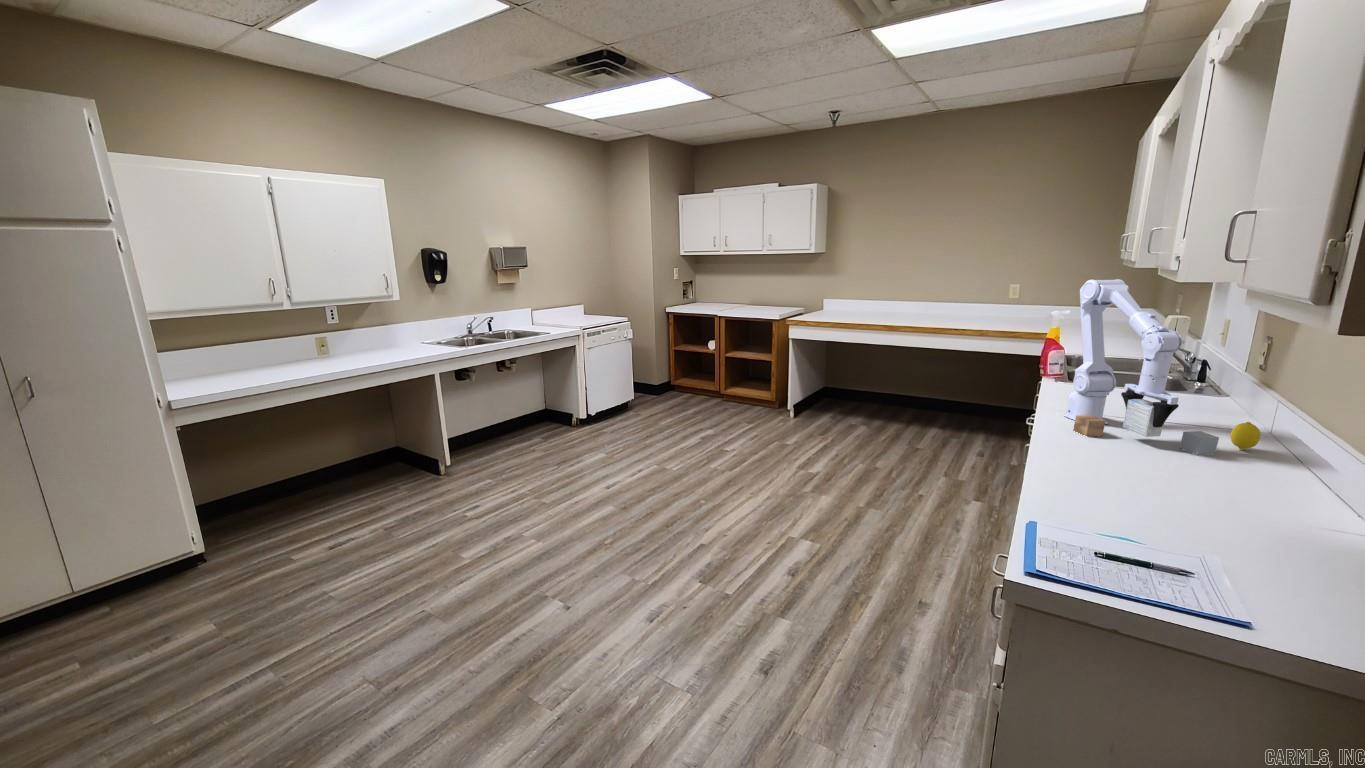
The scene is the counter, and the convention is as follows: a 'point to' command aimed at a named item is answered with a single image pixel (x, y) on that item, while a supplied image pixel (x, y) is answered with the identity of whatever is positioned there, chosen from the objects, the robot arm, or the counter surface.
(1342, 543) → the counter surface
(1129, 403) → the medicine box
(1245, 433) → the lemon
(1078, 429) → the walnut block
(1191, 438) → the slate block
